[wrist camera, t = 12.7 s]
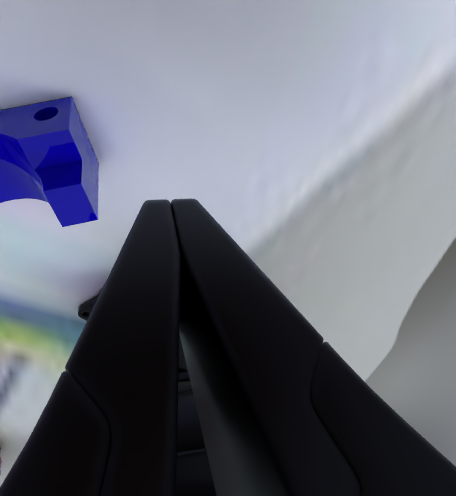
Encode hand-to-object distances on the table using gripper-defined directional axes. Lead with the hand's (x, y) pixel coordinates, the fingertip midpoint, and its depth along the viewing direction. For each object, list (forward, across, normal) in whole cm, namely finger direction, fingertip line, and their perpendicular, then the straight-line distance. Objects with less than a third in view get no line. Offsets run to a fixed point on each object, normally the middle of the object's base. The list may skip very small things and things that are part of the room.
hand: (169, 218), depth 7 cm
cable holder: (+13, +6, +7) cm, 16 cm away
